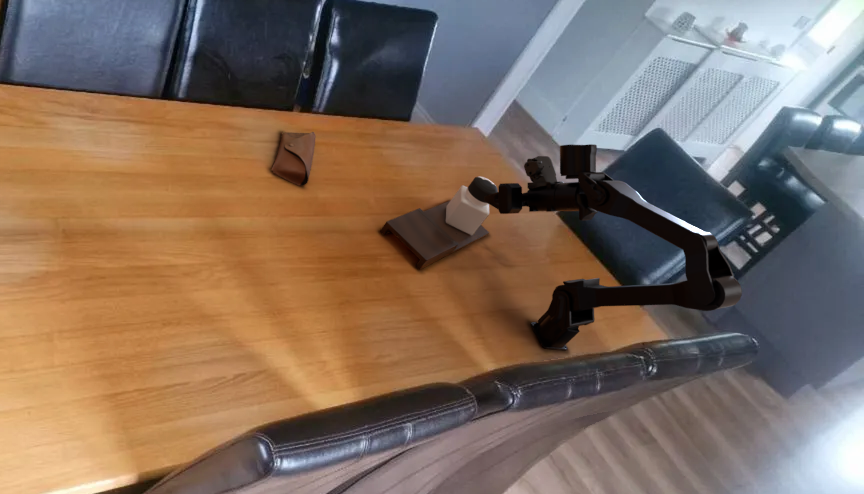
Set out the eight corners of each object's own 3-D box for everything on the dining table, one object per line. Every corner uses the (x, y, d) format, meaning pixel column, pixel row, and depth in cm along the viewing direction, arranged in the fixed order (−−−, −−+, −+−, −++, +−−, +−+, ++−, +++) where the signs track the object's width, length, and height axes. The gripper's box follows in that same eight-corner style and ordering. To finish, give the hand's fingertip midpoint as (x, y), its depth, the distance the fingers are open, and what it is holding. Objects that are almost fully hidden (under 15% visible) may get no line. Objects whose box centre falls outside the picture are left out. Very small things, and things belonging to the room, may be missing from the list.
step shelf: (451, 201, 171) (457, 192, 170) (487, 234, 167) (494, 226, 165) (379, 231, 151) (386, 221, 149) (419, 270, 146) (426, 260, 145)
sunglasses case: (279, 129, 164) (302, 115, 161) (297, 151, 167) (320, 137, 164) (269, 171, 151) (295, 157, 147) (289, 194, 154) (314, 181, 151)
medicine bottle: (472, 236, 162) (502, 198, 155) (444, 223, 162) (473, 184, 154) (472, 219, 168) (501, 181, 160) (445, 206, 167) (473, 168, 160)
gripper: (589, 157, 147) (525, 162, 160) (533, 156, 136) (469, 161, 149) (589, 210, 147) (525, 211, 160) (533, 213, 137) (470, 214, 150)
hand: (498, 198), depth 155 cm, fingers open, 9 cm apart
